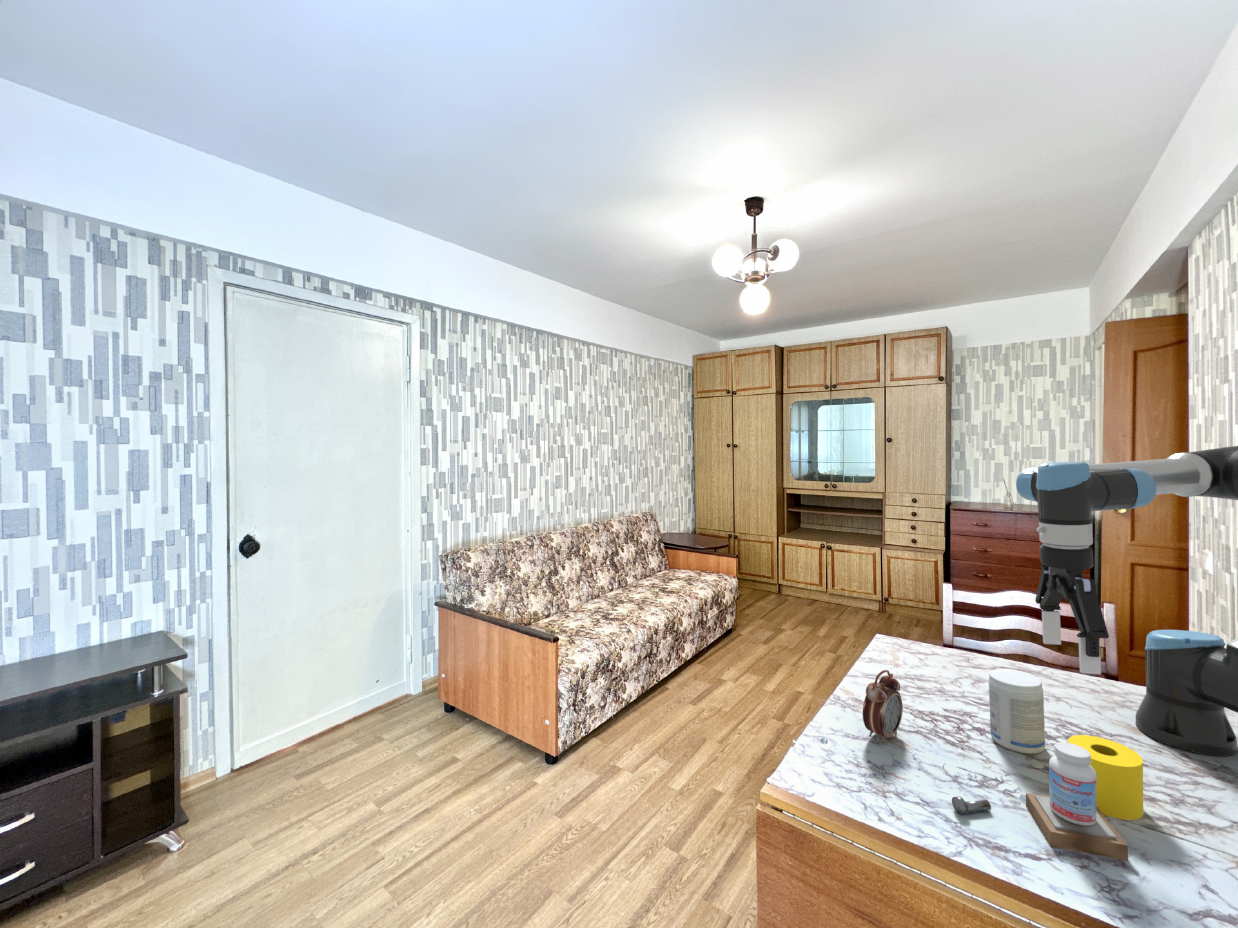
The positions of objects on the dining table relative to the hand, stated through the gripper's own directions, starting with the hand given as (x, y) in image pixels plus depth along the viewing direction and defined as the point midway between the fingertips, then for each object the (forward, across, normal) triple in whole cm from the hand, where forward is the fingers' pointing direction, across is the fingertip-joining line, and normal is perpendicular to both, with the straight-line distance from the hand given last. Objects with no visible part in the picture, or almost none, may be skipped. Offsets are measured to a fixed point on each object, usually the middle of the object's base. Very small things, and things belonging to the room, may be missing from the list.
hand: (1069, 657), depth 97 cm
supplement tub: (+26, -16, -4) cm, 31 cm away
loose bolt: (+25, +11, -20) cm, 34 cm away
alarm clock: (+25, -12, -31) cm, 41 cm away
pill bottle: (+23, +12, -6) cm, 26 cm away
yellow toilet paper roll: (+26, +2, +4) cm, 26 cm away
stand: (+25, +12, -6) cm, 29 cm away
